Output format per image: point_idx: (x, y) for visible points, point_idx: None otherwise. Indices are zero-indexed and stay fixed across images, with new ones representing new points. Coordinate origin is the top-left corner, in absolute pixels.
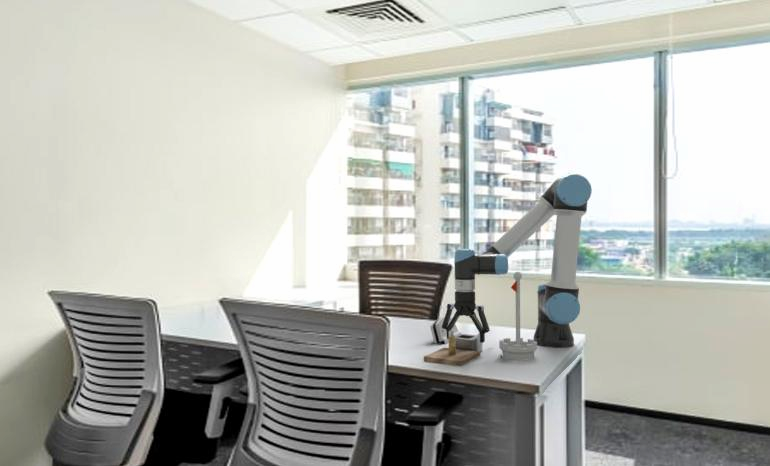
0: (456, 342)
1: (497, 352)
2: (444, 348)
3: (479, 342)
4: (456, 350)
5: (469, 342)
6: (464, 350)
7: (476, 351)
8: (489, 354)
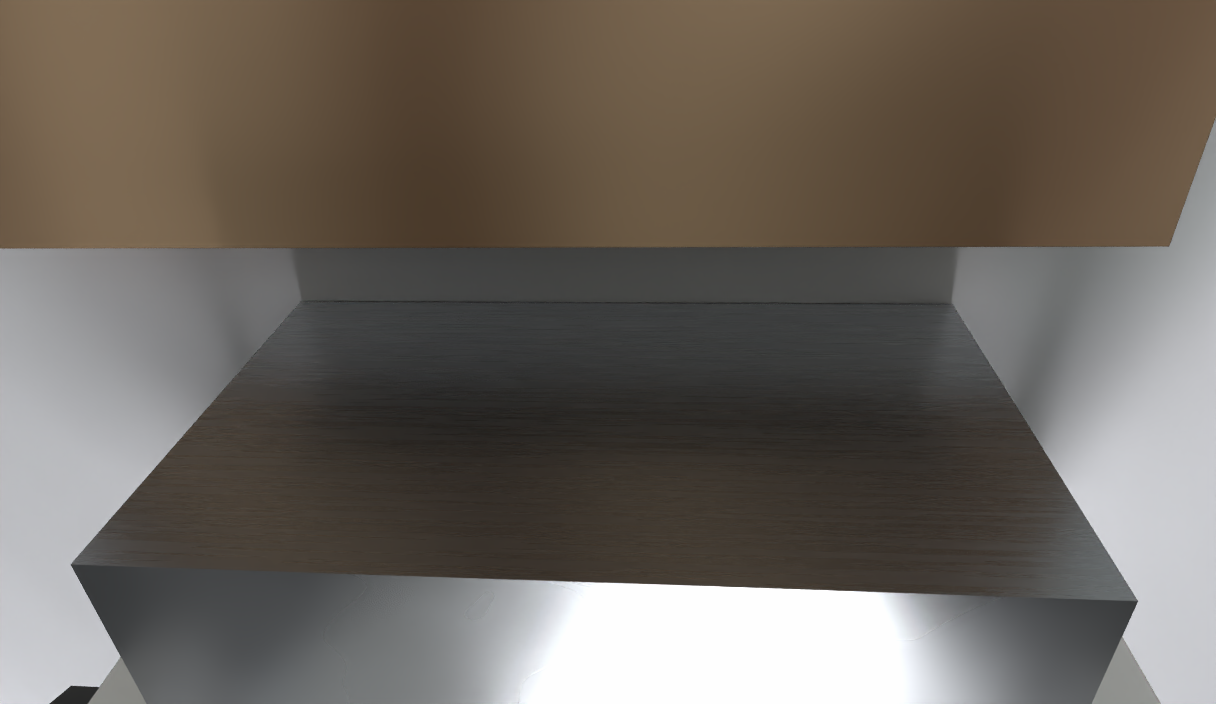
0: (764, 472)
1: (38, 605)
2: (1131, 121)
3: (120, 663)
4: (600, 45)
5: (236, 496)
6: (373, 179)
7: (21, 231)
8: (8, 428)
